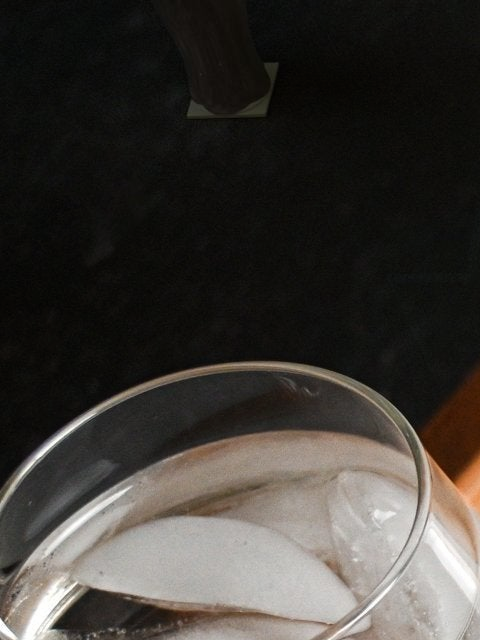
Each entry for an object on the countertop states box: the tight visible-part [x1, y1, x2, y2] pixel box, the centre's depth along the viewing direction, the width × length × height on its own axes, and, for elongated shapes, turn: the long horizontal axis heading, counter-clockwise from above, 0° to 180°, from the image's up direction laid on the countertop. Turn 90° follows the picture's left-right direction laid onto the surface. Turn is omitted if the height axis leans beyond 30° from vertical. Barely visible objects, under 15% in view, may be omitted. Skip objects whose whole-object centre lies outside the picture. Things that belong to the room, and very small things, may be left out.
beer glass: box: [150, 0, 271, 115], centre depth 140 cm, size 7×7×15 cm
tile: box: [186, 62, 280, 120], centre depth 146 cm, size 6×6×1 cm
